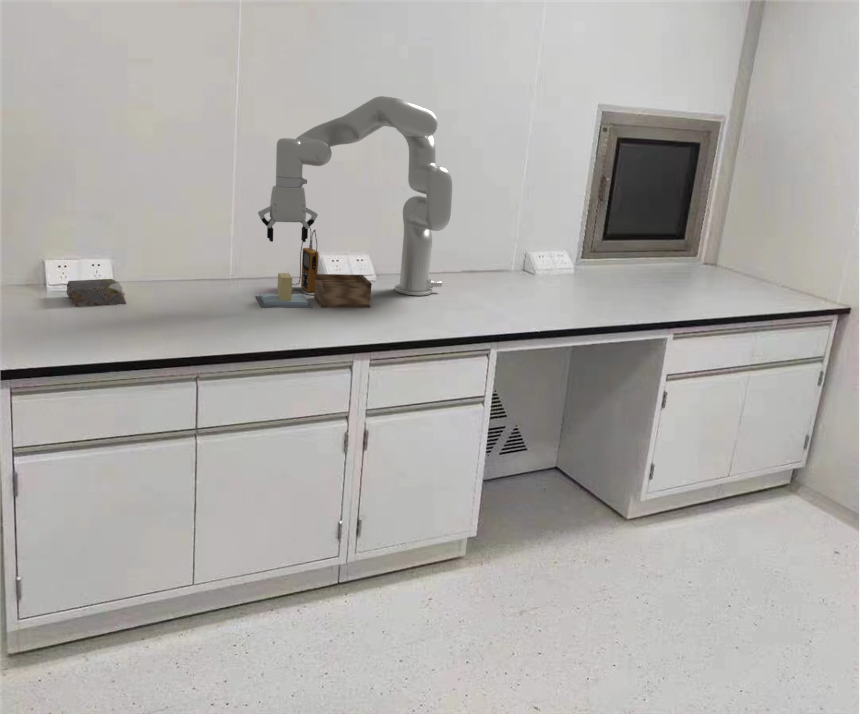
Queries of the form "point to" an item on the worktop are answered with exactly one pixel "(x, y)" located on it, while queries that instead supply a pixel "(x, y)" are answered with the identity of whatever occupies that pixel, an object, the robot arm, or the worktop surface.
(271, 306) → the mat
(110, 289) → the geological specimen
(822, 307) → the worktop surface
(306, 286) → the multimeter
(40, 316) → the worktop surface
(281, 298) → the cover plate
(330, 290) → the case
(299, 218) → the robot arm
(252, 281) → the worktop surface
